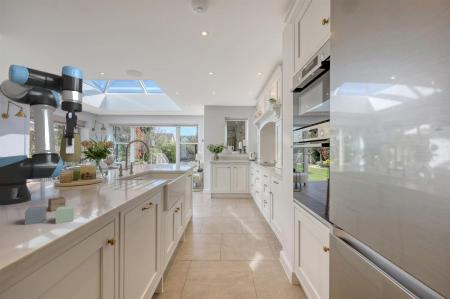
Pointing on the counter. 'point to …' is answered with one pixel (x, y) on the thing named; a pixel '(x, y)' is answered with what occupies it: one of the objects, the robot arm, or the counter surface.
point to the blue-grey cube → (35, 215)
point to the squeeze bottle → (77, 148)
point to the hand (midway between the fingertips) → (71, 153)
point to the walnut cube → (55, 203)
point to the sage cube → (64, 214)
